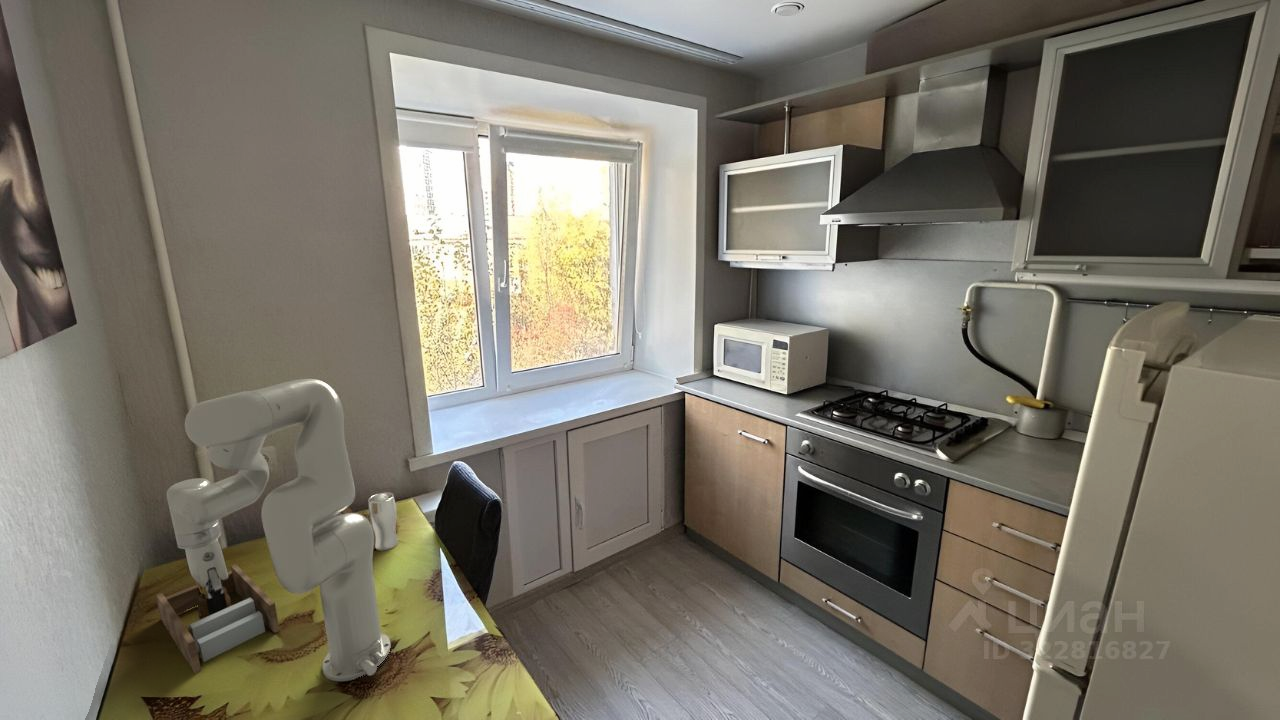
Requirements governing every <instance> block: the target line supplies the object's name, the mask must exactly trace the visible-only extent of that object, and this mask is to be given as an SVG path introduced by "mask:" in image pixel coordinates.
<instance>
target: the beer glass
mask: <svg viewBox="0 0 1280 720" xmlns="http://www.w3.org/2000/svg"><path fill="white" fill-rule="evenodd" d="M367 502H368V514H369V521H370V524H371V526H372V528H373V532H374V537H375V542H374V547H375V549H376V550H378V551H381V552H382V551H388V550H390V549H393V548H395V547H396V546H398V544H399V539H398V536H397V532H396V526H397V525H396V523H397V506H396V500H395V496H394V493H392V492H389V491H387V492H379V493H375V494H374V495H372V496H370V497H369V498H368V501H367Z"/></svg>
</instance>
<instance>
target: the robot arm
mask: <svg viewBox="0 0 1280 720" xmlns="http://www.w3.org/2000/svg"><path fill="white" fill-rule="evenodd" d="M344 415H345V414H344V409H343V404H342V402H341V399H340V398H339V395H338V394H337V392H336V391H335V389H333V388H332V387H331V386H330V385H329V384H328V383H326V382H324V381H322V380H320V379H315V378H301V379H295V380H290V381H284V382H281V383H277V384H273V385H270V386H266V387H262V388H258V389H254V390H247V391H239V392H236V393H231V394H227V395H224V396H220V397H216V398H213V399H209V400H207V399H206V400H204V401H201V402H198V403H196V404H194V405H193V406H192V407H191V408H190V409H189V411H188V412H187V414H186V416H185V418H184V419H185V420H184V430H185V433H186V435H187V437H188V439H189V440H190V441H191V442H192V443H193V444H195V445H197V446H199V447H203V448H207V457H208V459H209V461H210V462H211V463H212V464H214V465H215V466H216V467H218V468H221V469H225V470H229V471H238V472H237V473H236V474H234V475H232V476H228V477H227V478H224V479H221V480H219V481H217V482H214V483H211V481H209V479H206V478H203V477H200V478H199V477H198V478H190V479H186V480H185V479H184V480H182V481H179V482H177V483H174V484H172V485H171V486H170V487H168V489H167V491H166V500H167V504H168V508H169V514H170V517H171V522H172V526H173V530H174V535H175V536H174V537H175V540H176V544H177V548H178V549H182V550H185V556H186V560H187V564H188V568H189V572H190V574H191V576H192V578H193V580H194V581H195V582H196V585H197V583H199V585H200V587H201V589H202V588H205V591H206V595H207V598H206V602H207V607H208V612H209V614H210V615H211V614H214V613H216V612H218V611H221V610H223V609H225V608H226V607H227V604H226V599H225V594H224V591H223V588H222V585H221V581H220V578H221V579H222V580H224V579H225V580H226V579H227V578H228V573H227V572H228V569H227V567H226V561H225V558H224V554H223V550H222V548H221V545H220V542H219V538H220V537H221V535H222V531H221V526H220V521H219V520H220V519H222V518H225V517H227V516H228V515H231V514H232V513H235V512H236V511H239V510H241V509H244V508H247V507H248V506H250V505H252V504H254V503H256V501H258V499H259V498H260V497H261V496H262V495H263V493H264V491H265V488H266V487H267V484H268V482H269V480H270V479H269V478H270V468H269V464H268V462H267V459H266V458H265V456H264V455H263V454H262V453H261V450H262V448H263V445H264V443H265V441H266V438H267V436H268V435H271V434H274V433H277V432H280V431H283V430H287V429H289V428H292V427H294V426H297V425H302V427H301V429H300V431H299V432H298V436H297V438H296V442H295V445H294V447H295V448H294V459H295V462H296V466H297V476H296V478H294V479H293V480H290V481H288V482H286V483H283V484H281V485H280V486H277V487H276V488H274V489H272V491H270V492H269V493H268V494H267V495H266V497H265V498H264V499H263V503H262V505H261V510H260V511H261V513H260V515H261V522H262V528H263V532H264V534H265V535H264V536H265V540H266V543H267V547H268V551H269V556H270V558H271V564H272V566H273V570H274V574H275V575H276V578H277V580H278V582H279V584H280V585H281V586H282V587H283V589H284V590H286V591H287V592H289V593H291V594H296V595H301V594H302V595H303V594H306V593H308V592H311V591H313V590H314V589H316V588H318V587H319V586H320V587H319V589H320V591H319V593H320V600H321V608H322V614H323V621H324V627H325V633H326V640H327V644H328V653H327V654H326V655H325V657H324V659H323V661H322V664H321V667H322V672H323V675H324V677H325V678H326V679H328V680H329V681H330V680H331V681H335V682H347V681H353V680H356V678H357V679H359V678H358V677H360V678H362V677H364V676H366V675H367V676H373V675H374V674H375V673H376V671H377V669H378V667H377V666H379V665H380V664H381V663H382V662H383V661H384V660H385V658H386V657H387V655H388V654H389V655H390V653H391V651H390V648H391V649H392V645H391V643H392V642H391V640H390V638H389V636H388V635H386V634H385V633H382V632H381V624H380V616H379V609H378V602H377V601H378V600H377V593H376V587H375V586H376V585H375V584H376V583H375V576H374V567H373V558H374V557H373V554H374V547H375V532H374V529H373V526H372V523H371V521H370V520H369V519H368V518H366V516H364V515H362V514H360V513H356V512H355V513H354V512H353V513H347V514H343V515H340V516H337V517H335V518H333V519H331V520H329V521H327V522H326V523H324V524H322V525H320V526H319V527H317V528H315V529H313V527H315V526H317V525H318V524H320V523H322V522H324V521H325V520H327V519H329V518H331V517H333V516H334V515H336V514H338V513H339V512H341V511H343V510H344V509H346V508H349V506H350V505H352V504H353V502H354V500H355V498H356V488H355V483H354V478H353V477H354V476H353V472H352V468H351V464H350V463H351V462H350V458H349V453H348V450H347V449H348V448H347V445H346V438H345V421H344V420H345V417H344ZM219 576H220V578H219ZM208 582H209V584H208ZM197 586H198V585H197ZM209 587H210V588H211V591H210V590H209V589H210V588H209ZM198 593H199V596H200V595H201V594H202V593H200V590H199V588H198ZM389 652H390V653H389ZM389 655H388V656H389ZM387 658H388V657H387ZM387 658H386V659H387ZM385 661H386V660H385ZM385 661H384V662H385ZM384 662H383V663H384ZM383 663H382V664H383ZM382 664H381V665H382ZM381 665H380V666H381ZM380 666H379V667H380ZM365 674H366V675H365ZM363 675H364V676H363ZM361 676H362V677H361Z"/></svg>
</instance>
